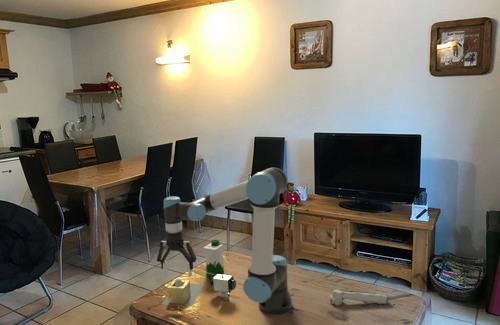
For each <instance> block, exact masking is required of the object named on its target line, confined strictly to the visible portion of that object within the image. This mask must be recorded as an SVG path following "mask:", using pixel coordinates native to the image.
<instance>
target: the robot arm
mask: <svg viewBox="0 0 500 325" xmlns="http://www.w3.org/2000/svg"><path fill="white" fill-rule="evenodd" d="M287 187H288V177H287V175H286V173H285V172H284V171H283V170H282V169H280V168H278V167H269V168H266V169H264V170H262V171H258V172H256V173H255V174H253V175H252V176H251V177H249V179H248V180H246V181H243V182H240V183H238V184H235V185H232V186H230V187H229V186H228V187H227V188H224V189H222V190H219V191H216V192H214V193H210V194H207V195H204V196H202V197H200V198H198V199H196V200H193V201H192V202H182V201H181V198H180V197H179V196H167V197H165V198H164V199H163V215H164V224H165V231H166V232H165V236H166V237H165V238H166V240H161V241H160V243H159V244H160V246H159V250H158V254H157V258H156V262H159V263H160V266H161V270H163V277H167V276H168V275H169V274H168V264H167V258H168V256H169V254H170V252H171V251H173V252H174V251H179V253H181V254H182V256H183V257H184V258H185V259H186V261H187V274H188V275H187V276H188V278H191V276H192V275H193V273H192V272H193V271H192V270H193V269H194V263H195V262H196V261H197V256H196V254H195V251H194V249H193V247H192V245H191V240H187V241H186V240H184V231H183V221H182V220H186V221H191V222H192V221H193V222H198V221H202V220H204V218H205V216H206V214H208V213H211V212H212V211H216V210H219V209H221V208H224V207H227V206H231V205H233V204H237V203H239V202H242V201H245V200H249V205H250V207H252V208H253V215H252V216H253V218H252V221H253V222H252V248H251V249H252V250H251V251H252V253H251V263H250V264H249V265H248V266H247V278H246V279H244V282H243V284H242V285H243V286H242V288H243V292H244V293H245V295H246V297H247V298H248V299H249V300H251V301H252V302H255V303H258V308H259V309H260V311H262V312H263V313H266V314H271V315H280V314H284V313H286V312H289V311H290V310H291V309H292V307H293V300H292V296H291V295H290V291H289V290H288V289H289V288H288V287H289V286H288V263H287V259H286V258H285V257H284V256H282V255H278V254H277V255H276V254H274V238H275V219H276V217H275V215H276V214H275V213H276V209H278V207H280V206H279V205H280V195H281V194H282V193H283V192H284V191H285V190H286V189H287ZM184 245H185V246H184ZM165 246H167V249H166V251H165V250H164V249H165ZM185 247H186V248H185ZM186 249H187V250H186ZM164 251H165V253H164ZM163 253H164V255H163Z"/></svg>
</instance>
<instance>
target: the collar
mask: <svg viewBox="0 0 500 325" xmlns="http://www.w3.org/2000/svg"><path fill="white" fill-rule="evenodd" d="M181 280H182V287H181V286H176V285H175V281H176V279H173V280H172V281H171V282H170V283H169V285H168V286H167V296H168V300H169V304H186V303H187V301H188V300H189V298H190V297H191V292H190V283H191V282H190V280H189V279H181Z"/></svg>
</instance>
